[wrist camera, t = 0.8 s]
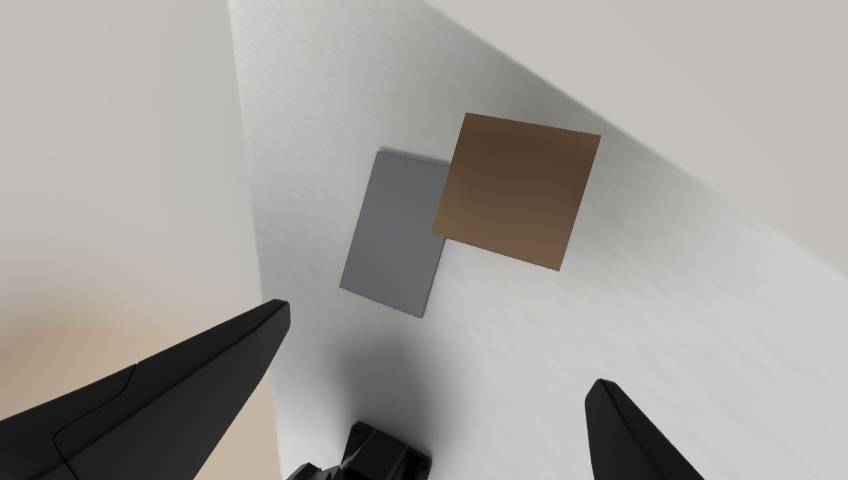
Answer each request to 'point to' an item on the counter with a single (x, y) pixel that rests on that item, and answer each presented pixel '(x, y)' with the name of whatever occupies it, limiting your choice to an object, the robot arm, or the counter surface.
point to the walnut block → (515, 188)
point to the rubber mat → (397, 234)
